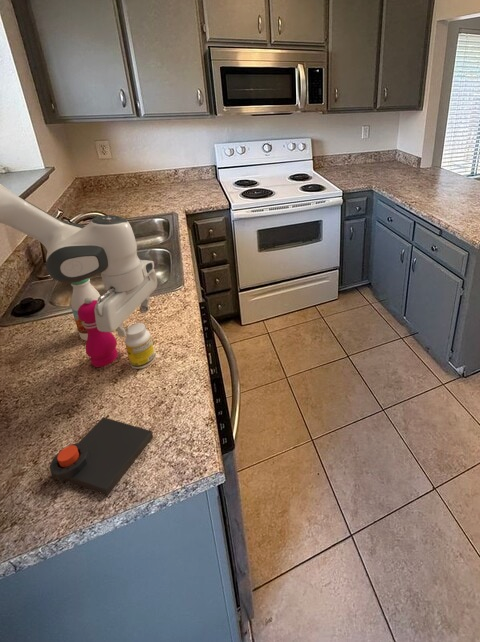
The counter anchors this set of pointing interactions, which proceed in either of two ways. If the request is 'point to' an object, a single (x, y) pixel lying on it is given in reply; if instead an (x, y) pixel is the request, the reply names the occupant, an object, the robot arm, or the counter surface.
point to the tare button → (68, 456)
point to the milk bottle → (79, 295)
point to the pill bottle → (139, 346)
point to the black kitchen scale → (103, 456)
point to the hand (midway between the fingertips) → (134, 322)
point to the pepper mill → (97, 336)
